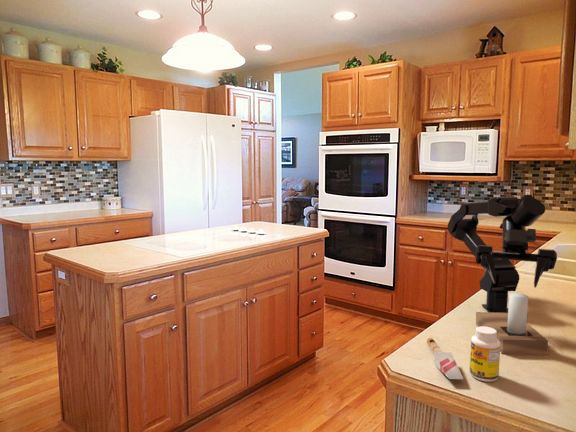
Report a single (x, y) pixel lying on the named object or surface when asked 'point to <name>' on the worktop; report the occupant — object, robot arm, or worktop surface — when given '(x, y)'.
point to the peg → (517, 314)
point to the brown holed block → (513, 344)
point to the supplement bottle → (485, 354)
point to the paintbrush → (444, 361)
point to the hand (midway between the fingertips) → (514, 284)
